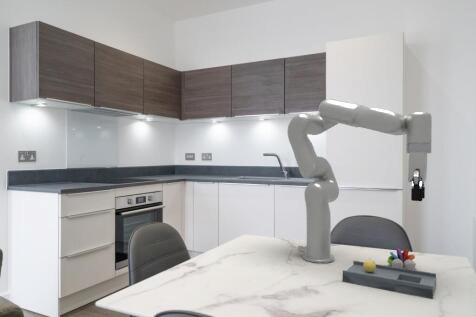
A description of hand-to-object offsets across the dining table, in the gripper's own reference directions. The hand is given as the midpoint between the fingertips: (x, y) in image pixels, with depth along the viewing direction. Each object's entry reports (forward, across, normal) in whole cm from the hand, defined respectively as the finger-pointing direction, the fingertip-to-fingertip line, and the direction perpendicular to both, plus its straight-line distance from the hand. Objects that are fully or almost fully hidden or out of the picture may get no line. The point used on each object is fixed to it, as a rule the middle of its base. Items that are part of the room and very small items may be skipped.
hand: (418, 199), depth 117 cm
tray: (+27, +10, -8) cm, 30 cm away
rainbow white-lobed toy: (+27, -10, -6) cm, 30 cm away
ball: (+22, +10, -14) cm, 28 cm away
